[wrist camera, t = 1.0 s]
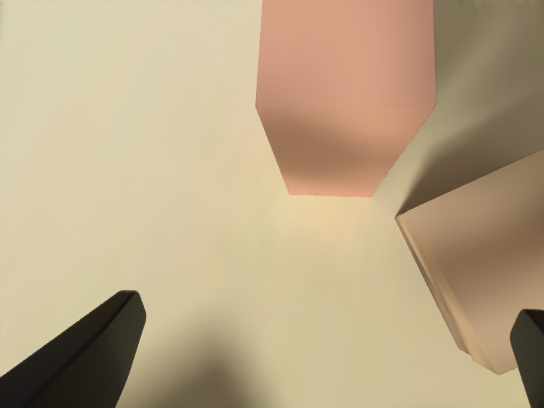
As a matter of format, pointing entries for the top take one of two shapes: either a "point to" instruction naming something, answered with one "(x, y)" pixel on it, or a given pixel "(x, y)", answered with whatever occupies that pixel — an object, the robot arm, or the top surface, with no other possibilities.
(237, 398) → the top surface
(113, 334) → the robot arm
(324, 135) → the pillar
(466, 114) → the top surface
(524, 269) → the tower top
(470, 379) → the top surface
